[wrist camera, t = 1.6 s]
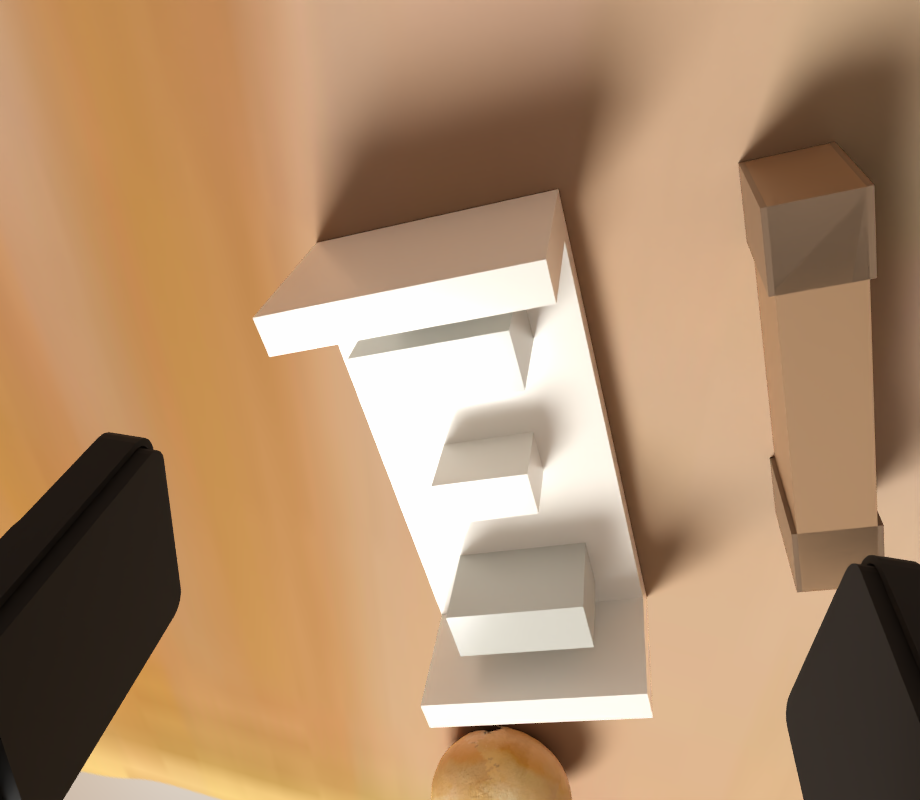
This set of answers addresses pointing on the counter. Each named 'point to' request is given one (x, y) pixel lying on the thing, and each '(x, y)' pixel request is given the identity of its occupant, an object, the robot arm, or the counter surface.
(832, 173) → the tan bar
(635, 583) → the white bracket frame
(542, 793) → the onion
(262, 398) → the counter surface
